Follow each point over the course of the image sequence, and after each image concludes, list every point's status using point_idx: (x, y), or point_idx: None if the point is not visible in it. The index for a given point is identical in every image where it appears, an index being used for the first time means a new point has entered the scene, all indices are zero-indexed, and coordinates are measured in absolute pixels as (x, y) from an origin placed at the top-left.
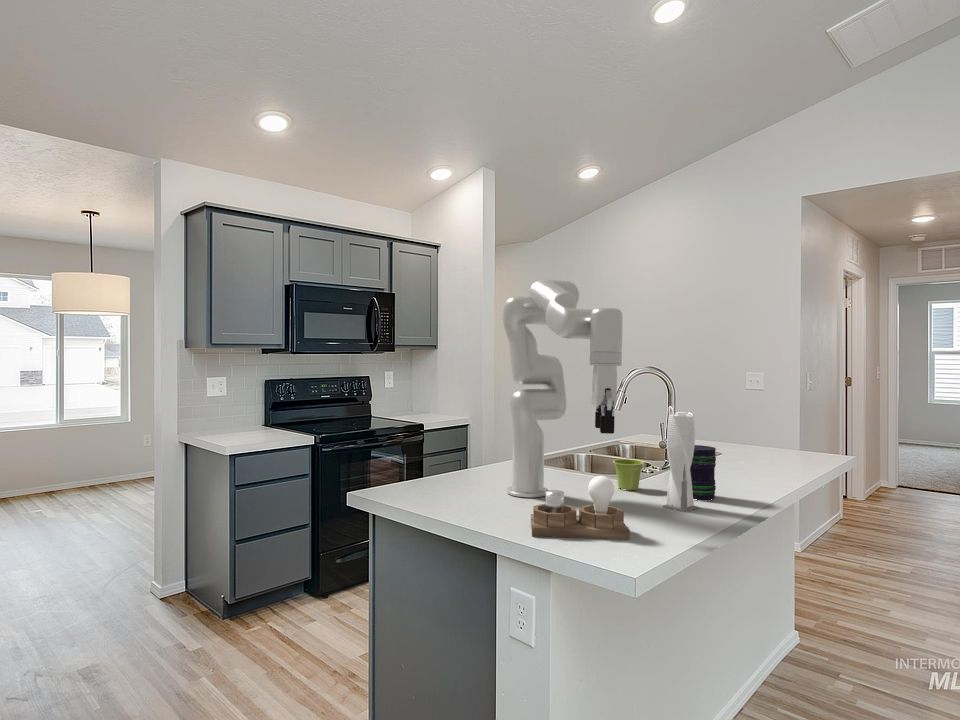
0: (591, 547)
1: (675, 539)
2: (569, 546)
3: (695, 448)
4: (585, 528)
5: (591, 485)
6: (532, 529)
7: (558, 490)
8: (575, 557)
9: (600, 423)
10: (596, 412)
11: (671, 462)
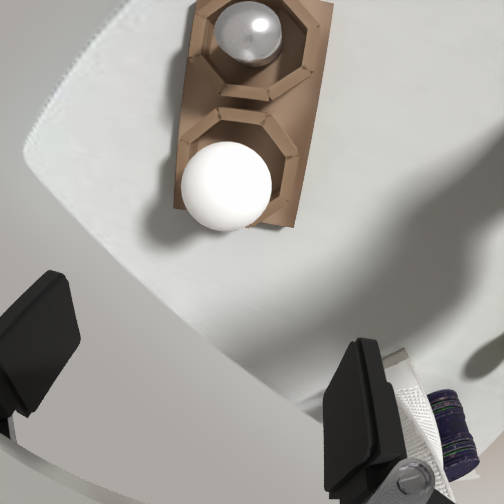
0: (126, 110)
1: (184, 286)
2: (132, 66)
3: (449, 471)
4: (186, 110)
5: (207, 150)
6: None
7: (271, 45)
8: (77, 75)
9: (12, 305)
10: (375, 454)
11: (416, 430)
